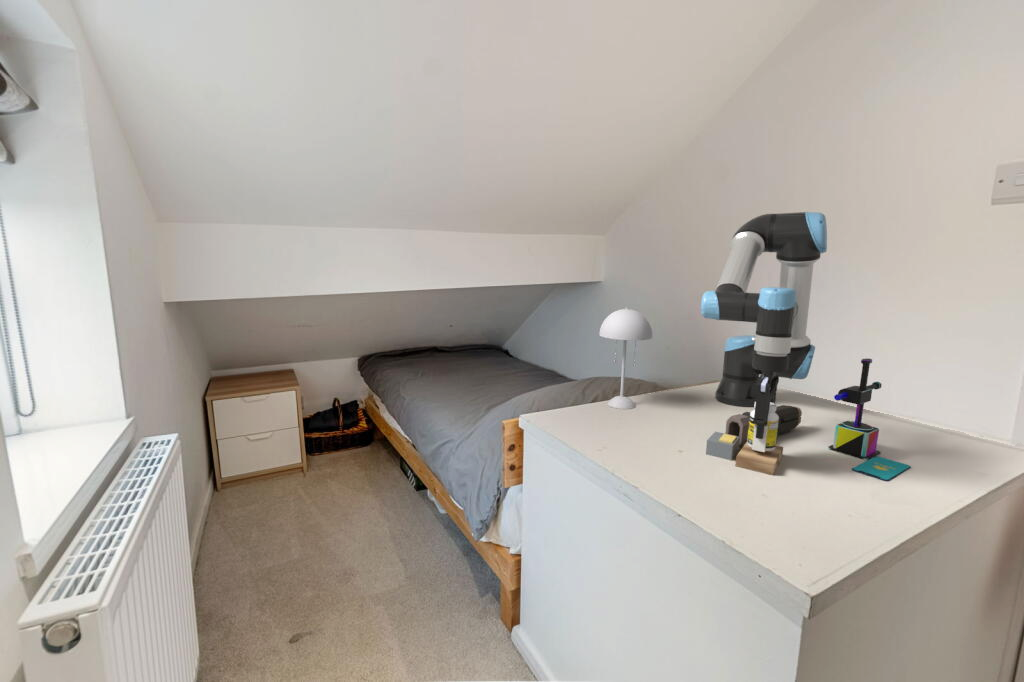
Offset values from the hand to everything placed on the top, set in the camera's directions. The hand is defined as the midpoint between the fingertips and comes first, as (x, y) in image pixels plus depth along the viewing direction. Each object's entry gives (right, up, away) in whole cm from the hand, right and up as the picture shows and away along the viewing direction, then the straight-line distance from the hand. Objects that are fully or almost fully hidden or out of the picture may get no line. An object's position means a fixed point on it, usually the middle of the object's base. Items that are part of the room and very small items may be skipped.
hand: (761, 446), depth 116 cm
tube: (+10, -2, +18) cm, 20 cm away
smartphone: (+27, -5, -2) cm, 28 cm away
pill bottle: (0, 0, 0) cm, 1 cm away
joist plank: (0, -4, +1) cm, 4 cm away
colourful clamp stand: (+33, -3, +11) cm, 35 cm away
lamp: (-24, +4, +45) cm, 51 cm away
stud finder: (-7, -3, +6) cm, 10 cm away
